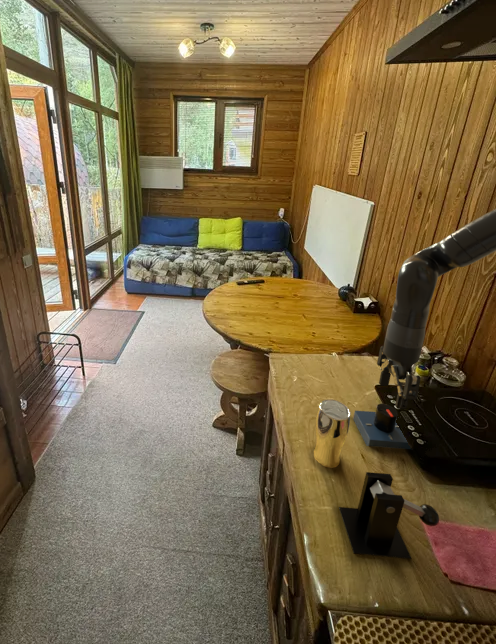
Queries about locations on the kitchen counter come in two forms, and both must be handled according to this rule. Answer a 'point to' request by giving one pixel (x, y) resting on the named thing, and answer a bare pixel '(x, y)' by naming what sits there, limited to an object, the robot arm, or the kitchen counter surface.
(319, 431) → the beer glass
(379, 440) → the valve panel
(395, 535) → the bracket
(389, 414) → the knob
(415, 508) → the tap lever
